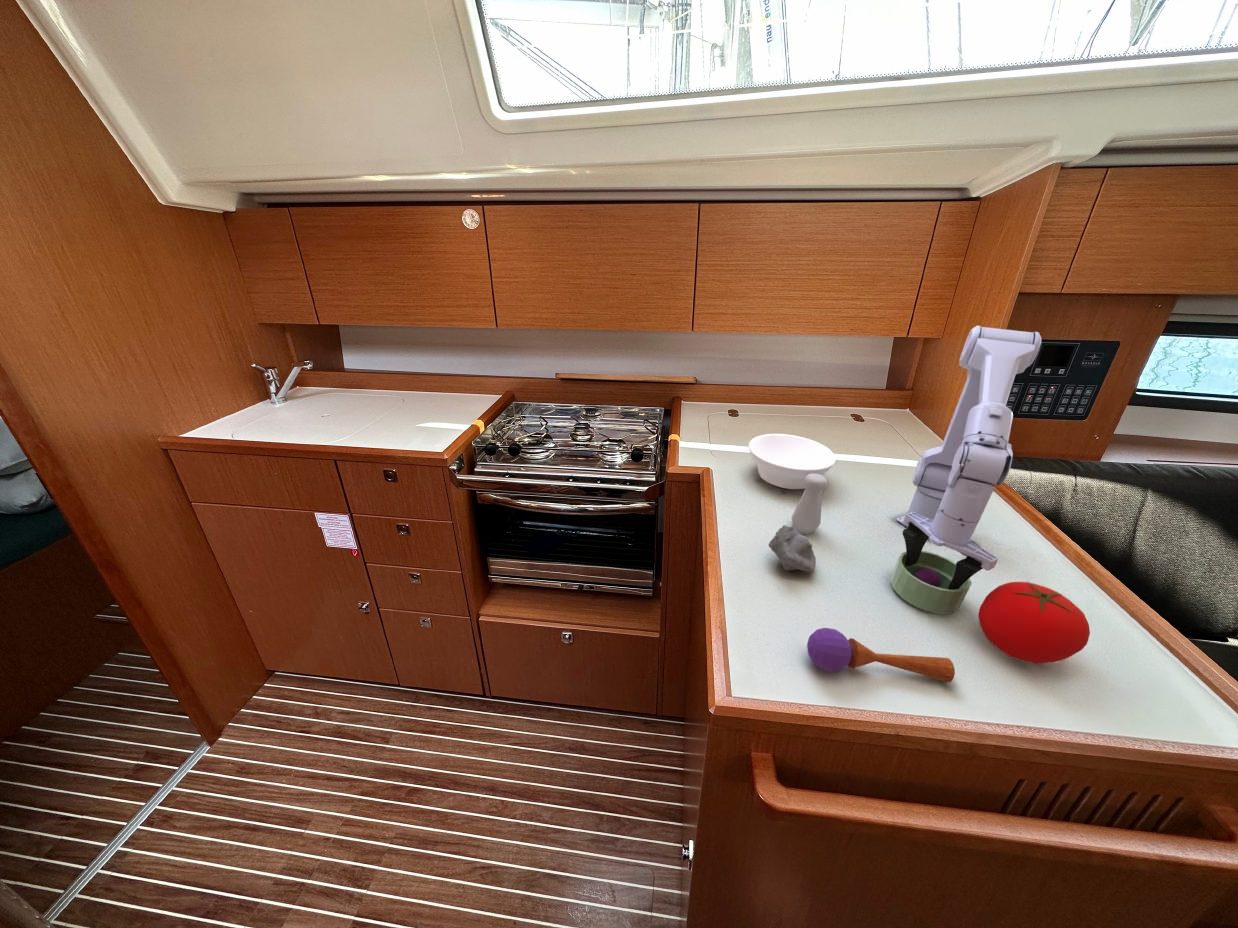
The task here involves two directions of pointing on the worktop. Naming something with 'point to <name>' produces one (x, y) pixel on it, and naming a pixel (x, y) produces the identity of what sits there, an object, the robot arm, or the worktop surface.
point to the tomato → (1033, 623)
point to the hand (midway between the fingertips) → (930, 576)
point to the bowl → (789, 459)
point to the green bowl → (924, 593)
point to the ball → (928, 576)
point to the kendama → (870, 656)
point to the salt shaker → (810, 505)
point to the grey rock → (793, 549)
